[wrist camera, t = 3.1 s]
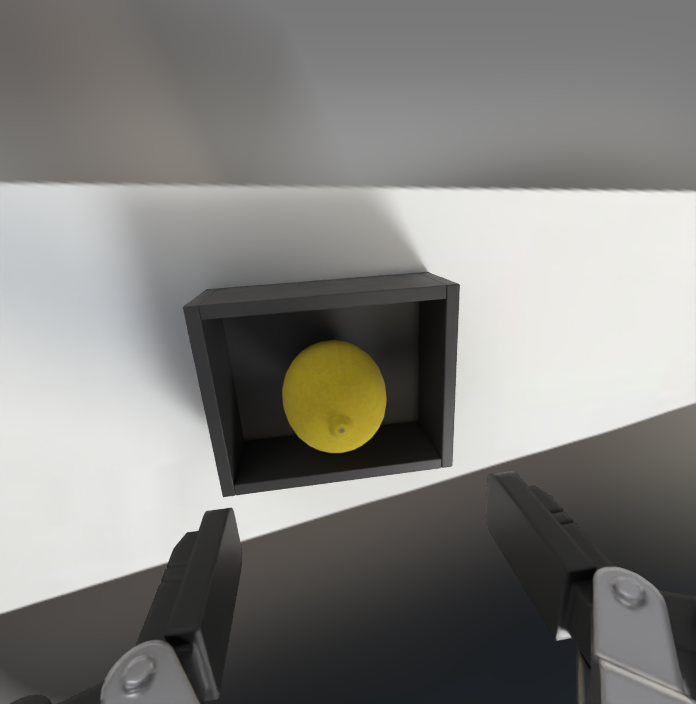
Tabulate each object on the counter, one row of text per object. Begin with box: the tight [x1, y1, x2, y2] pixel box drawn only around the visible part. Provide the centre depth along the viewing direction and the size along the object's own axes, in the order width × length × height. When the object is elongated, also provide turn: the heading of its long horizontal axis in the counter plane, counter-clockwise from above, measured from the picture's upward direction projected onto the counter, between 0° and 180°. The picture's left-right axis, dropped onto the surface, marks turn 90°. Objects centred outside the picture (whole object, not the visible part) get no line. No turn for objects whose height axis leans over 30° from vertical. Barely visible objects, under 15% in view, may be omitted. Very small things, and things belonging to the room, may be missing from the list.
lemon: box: [282, 340, 386, 453], centre depth 20 cm, size 6×6×8 cm
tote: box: [183, 272, 460, 497], centre depth 22 cm, size 13×11×5 cm
